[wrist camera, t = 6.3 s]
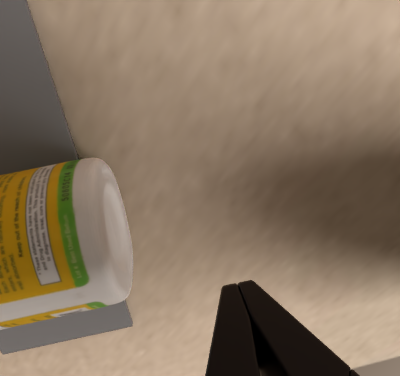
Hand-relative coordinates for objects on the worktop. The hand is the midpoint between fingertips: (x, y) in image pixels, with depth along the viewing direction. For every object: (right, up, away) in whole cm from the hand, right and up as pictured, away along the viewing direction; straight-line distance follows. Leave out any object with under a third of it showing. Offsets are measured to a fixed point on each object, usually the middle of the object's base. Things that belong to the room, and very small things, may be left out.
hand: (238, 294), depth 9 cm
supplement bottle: (-4, +2, +3) cm, 5 cm away
